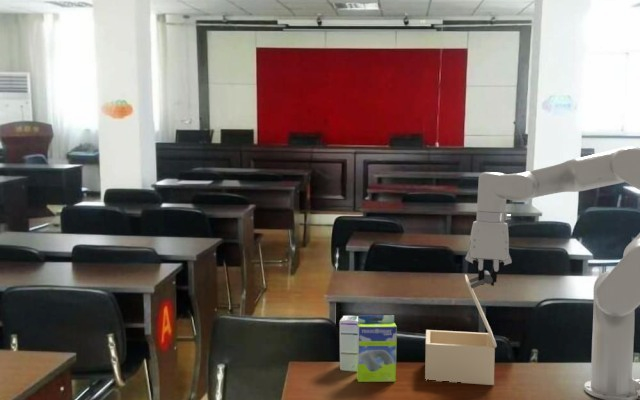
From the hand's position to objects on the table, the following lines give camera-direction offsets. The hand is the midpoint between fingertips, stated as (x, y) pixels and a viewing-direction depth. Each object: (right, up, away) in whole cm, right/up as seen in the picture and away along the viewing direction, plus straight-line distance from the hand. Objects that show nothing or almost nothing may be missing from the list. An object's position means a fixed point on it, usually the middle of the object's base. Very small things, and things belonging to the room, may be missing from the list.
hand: (486, 284), depth 169 cm
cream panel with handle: (-2, -7, +1) cm, 7 cm away
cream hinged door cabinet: (-7, -25, +3) cm, 27 cm away
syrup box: (-37, -25, +7) cm, 45 cm away
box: (-31, -26, -2) cm, 40 cm away
